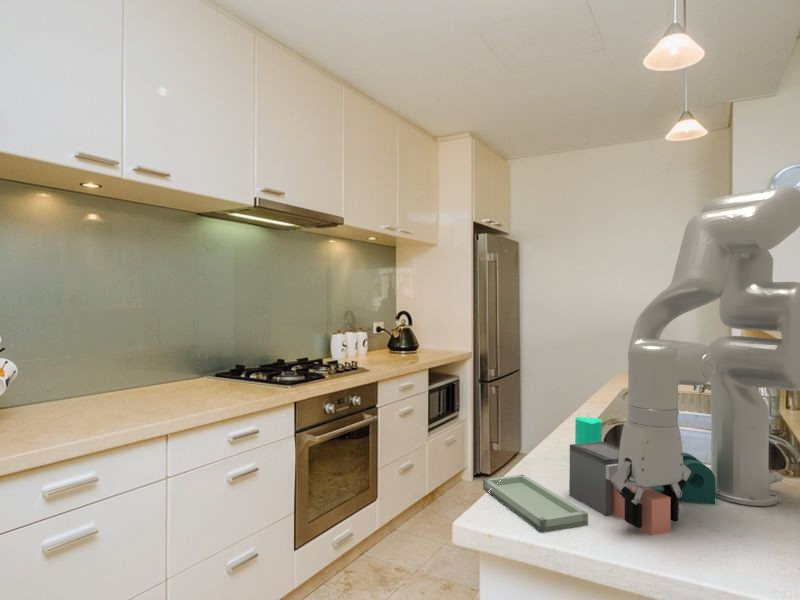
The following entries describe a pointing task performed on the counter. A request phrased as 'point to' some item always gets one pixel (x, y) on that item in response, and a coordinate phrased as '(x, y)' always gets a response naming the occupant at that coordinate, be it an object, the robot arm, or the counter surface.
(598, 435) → the candle
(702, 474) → the bracket
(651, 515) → the terracotta pink bar
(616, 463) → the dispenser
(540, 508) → the tray
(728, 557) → the counter surface
